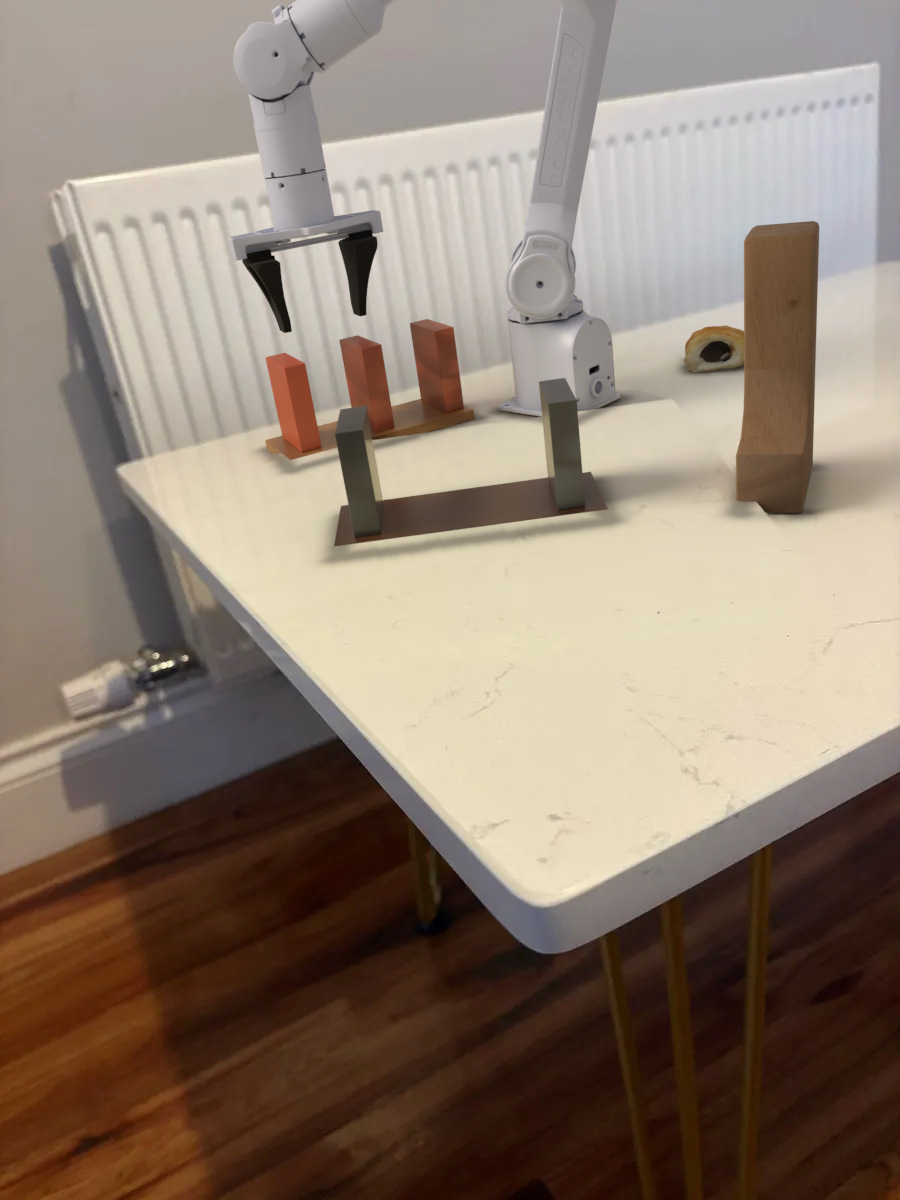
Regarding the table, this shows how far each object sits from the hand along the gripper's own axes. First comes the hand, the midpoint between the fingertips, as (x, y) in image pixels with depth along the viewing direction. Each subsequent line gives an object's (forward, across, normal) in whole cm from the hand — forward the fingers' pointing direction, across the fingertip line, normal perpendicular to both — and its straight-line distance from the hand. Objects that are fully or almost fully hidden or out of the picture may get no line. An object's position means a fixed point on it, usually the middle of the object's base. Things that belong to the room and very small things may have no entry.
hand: (323, 322), depth 100 cm
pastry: (+11, +38, -11) cm, 41 cm away
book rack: (+10, +2, -5) cm, 12 cm away
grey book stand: (+10, 0, -32) cm, 33 cm away
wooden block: (+11, +20, -42) cm, 48 cm away
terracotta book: (+9, -6, -6) cm, 12 cm away
